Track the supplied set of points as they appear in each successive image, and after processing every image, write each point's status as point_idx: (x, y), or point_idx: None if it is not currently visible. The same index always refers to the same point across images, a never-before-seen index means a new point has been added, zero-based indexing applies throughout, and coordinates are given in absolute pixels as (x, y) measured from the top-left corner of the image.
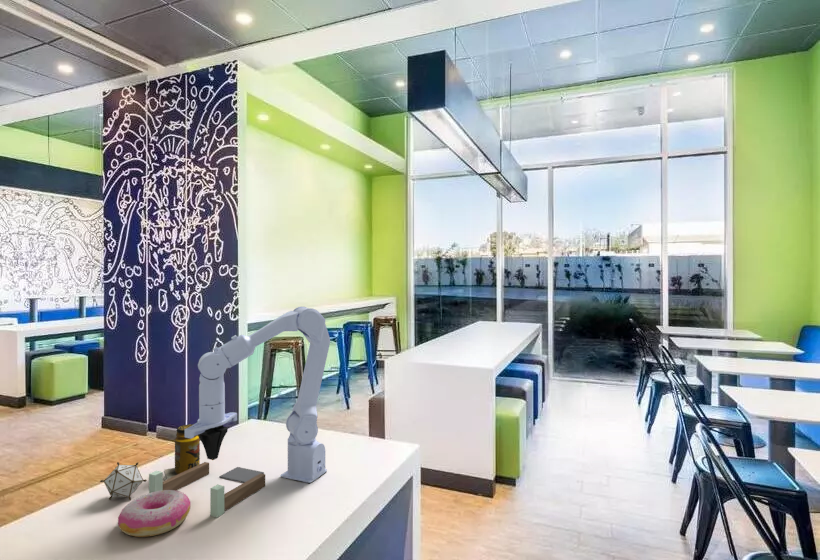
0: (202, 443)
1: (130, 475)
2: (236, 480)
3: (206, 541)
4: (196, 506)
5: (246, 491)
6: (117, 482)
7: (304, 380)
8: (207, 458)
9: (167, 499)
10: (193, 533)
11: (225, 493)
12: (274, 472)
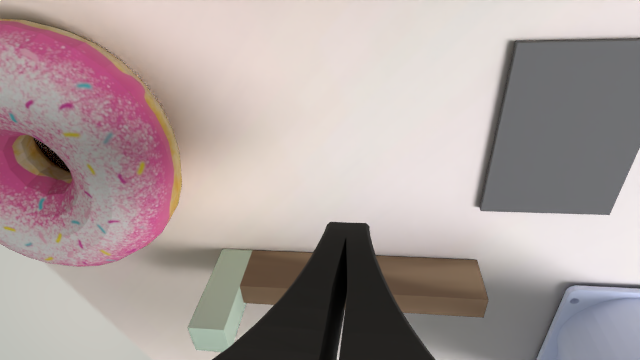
0: (278, 301)
1: None
2: (491, 158)
3: (144, 309)
4: (235, 169)
5: None
6: None
7: None
8: (327, 225)
9: (77, 187)
10: (139, 267)
11: (277, 289)
12: (624, 241)
